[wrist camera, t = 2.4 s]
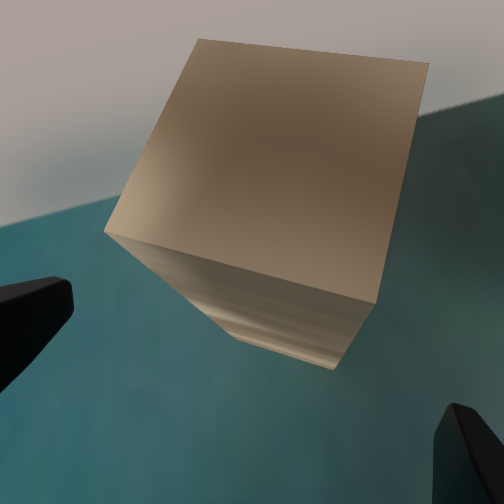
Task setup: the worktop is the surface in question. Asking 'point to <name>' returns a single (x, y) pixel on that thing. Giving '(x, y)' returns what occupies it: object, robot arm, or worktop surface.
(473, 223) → the worktop surface
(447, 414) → the robot arm
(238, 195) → the maple block
